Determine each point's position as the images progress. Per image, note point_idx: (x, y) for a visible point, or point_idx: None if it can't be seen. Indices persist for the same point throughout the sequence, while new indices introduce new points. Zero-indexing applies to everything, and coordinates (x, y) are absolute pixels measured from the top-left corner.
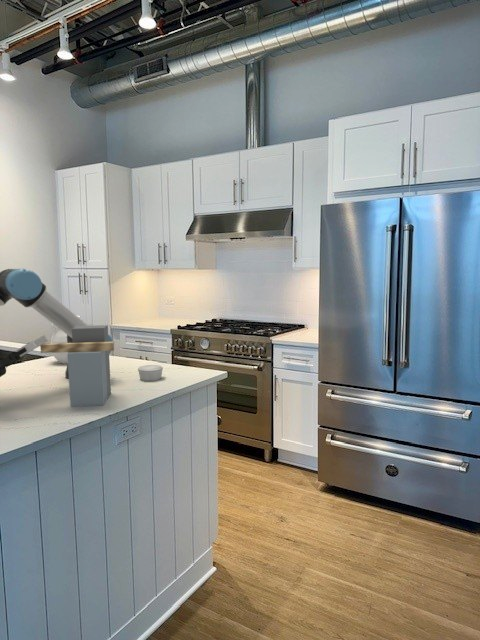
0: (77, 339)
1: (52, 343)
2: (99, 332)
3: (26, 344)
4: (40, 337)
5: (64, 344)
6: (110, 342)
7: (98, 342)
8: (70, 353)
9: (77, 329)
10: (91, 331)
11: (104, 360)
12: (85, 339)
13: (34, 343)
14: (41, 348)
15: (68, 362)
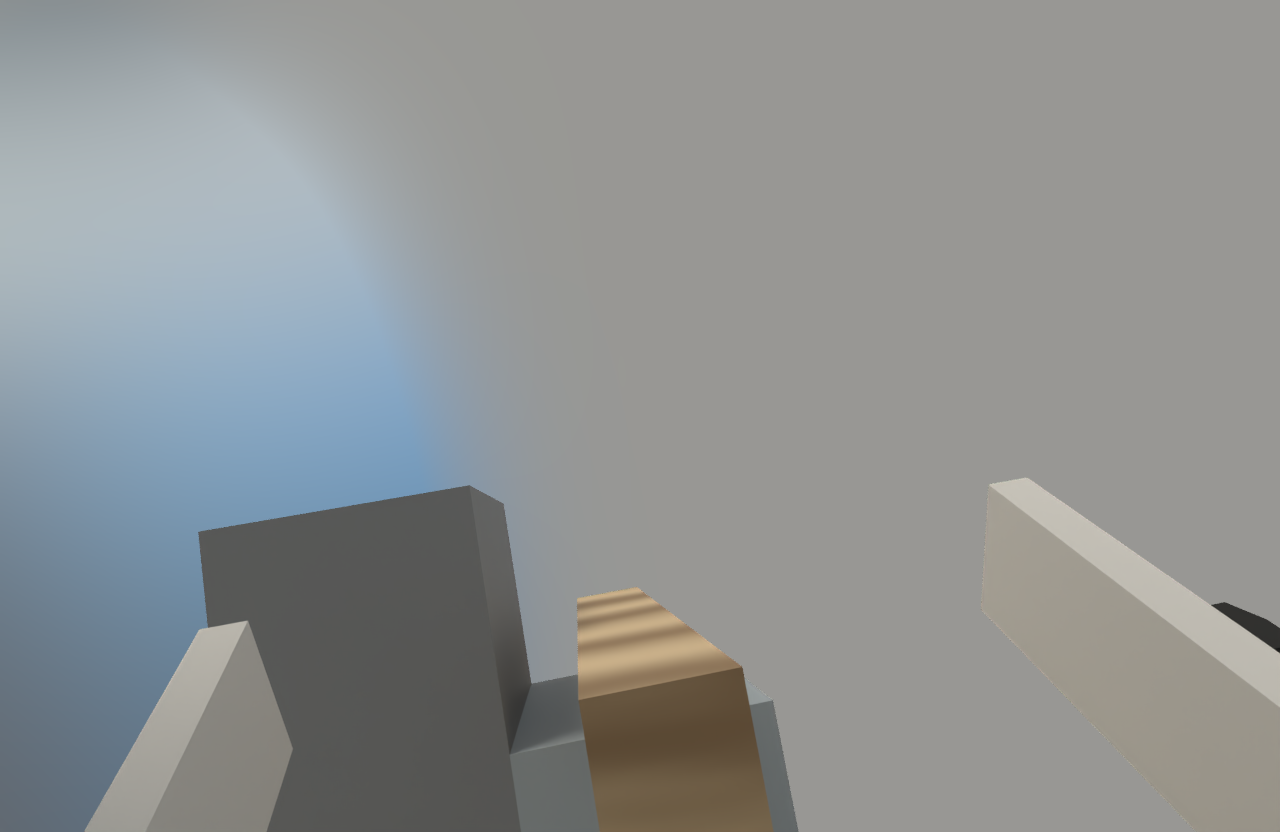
0: (496, 617)
1: (595, 665)
2: (506, 541)
3: (1114, 542)
4: (222, 687)
5: (682, 622)
6: (614, 592)
7: (601, 602)
8: (764, 695)
9: (477, 500)
10: (497, 529)
11: None
12: (504, 612)
13: (988, 539)
14: (751, 738)
15: (793, 814)
